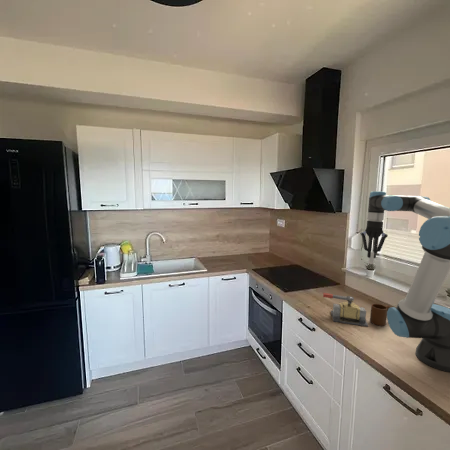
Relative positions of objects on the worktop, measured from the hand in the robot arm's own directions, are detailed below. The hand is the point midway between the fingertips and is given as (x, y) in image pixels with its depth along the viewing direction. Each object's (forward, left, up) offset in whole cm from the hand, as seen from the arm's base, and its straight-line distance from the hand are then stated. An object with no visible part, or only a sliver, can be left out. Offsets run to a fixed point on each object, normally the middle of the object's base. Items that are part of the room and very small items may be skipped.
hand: (370, 263), depth 139 cm
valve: (-2, +9, -32) cm, 34 cm away
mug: (0, -8, -33) cm, 34 cm away
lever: (-1, +15, -22) cm, 26 cm away
